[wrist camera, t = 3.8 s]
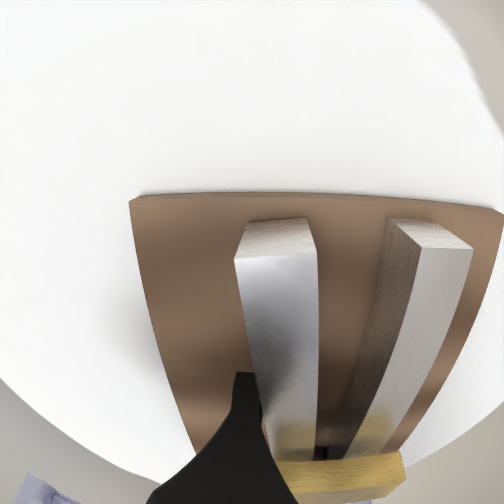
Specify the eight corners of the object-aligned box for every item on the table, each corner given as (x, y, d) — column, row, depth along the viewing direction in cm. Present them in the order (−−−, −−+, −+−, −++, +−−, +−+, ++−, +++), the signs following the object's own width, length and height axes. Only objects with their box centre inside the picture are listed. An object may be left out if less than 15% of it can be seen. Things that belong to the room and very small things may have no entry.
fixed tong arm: (345, 458, 16) (348, 495, 13) (288, 461, 17) (286, 499, 13) (430, 219, 9) (482, 255, 6) (321, 213, 9) (341, 252, 6)
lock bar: (381, 472, 11) (384, 496, 9) (270, 480, 11) (268, 506, 10) (399, 450, 10) (405, 478, 8) (272, 461, 10) (269, 493, 9)
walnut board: (387, 452, 17) (389, 460, 17) (202, 453, 19) (200, 462, 18) (493, 209, 9) (505, 215, 8) (140, 195, 11) (128, 201, 10)
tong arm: (310, 444, 15) (310, 482, 12) (279, 446, 15) (277, 483, 12) (306, 217, 9) (317, 252, 7) (247, 222, 10) (233, 259, 7)
